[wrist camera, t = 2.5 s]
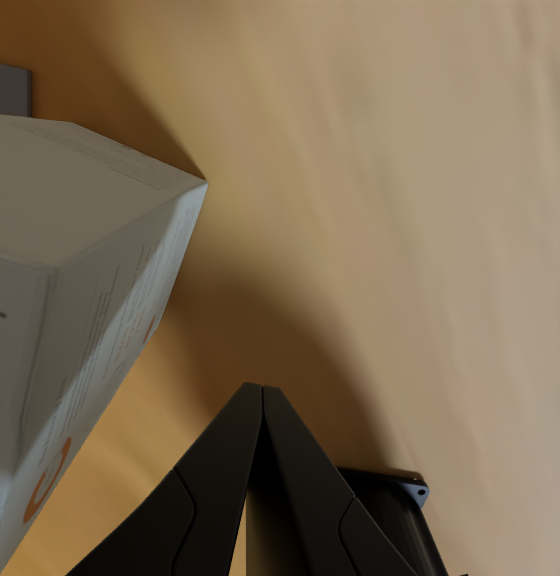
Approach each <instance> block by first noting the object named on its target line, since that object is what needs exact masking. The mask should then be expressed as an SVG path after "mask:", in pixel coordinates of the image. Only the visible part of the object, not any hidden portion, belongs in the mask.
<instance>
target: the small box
mask: <svg viewBox="0 0 560 576" xmlns="http://www.w3.org/2000/svg"><path fill="white" fill-rule="evenodd" d="M207 187H208V182H207V181H205V180H203V179H201V178H198V177H196V176H193V175H191V174H189V173H187V172H184V171H182V170H180V169H177V168H175V167H173V166H171V165H168V164H166V163H164V162H161V161H159V160H157V159H155V158H152V157H150V156H148V155H145V154H143V153H141V152H139V151H136V150H134V149H132V148H130V147H127V146H125V145H123V144H120V143H118V142H116V141H114V140H112V139H109V138H107V137H105V136H103V135H100V134H98V133H96V132H93V131H91V130H89V129H86V128H84V127H82V126H80V125H77V124H75V123H72V122H65V121H55V120H45V119H36V118H28V117H21V116H10V115H2V114H0V574H1V572H2V571H3V569H4V567H5V566H6V564H7V563H8V561H9V560H10V558H11V557H12V555H13V554H14V552H15V550H16V549H17V547H18V546H19V544H20V543H21V541H22V540H23V538H24V536H25V535H26V533H27V532H28V530H29V529H30V527H31V525H32V524H33V522H34V521H35V519H36V518H37V516H38V514H39V513H40V511H41V510H42V508H43V506H44V505H45V503H46V502H47V500H48V498H49V497H50V495H51V494H52V492H53V490H54V489H55V487H56V486H57V484H58V483H59V481H60V479H61V478H62V476H63V475H64V473H65V472H66V470H67V468H68V467H69V465H70V464H71V462H72V461H73V459H74V457H75V456H76V454H77V453H78V451H79V450H80V448H81V446H82V445H83V443H84V442H85V440H86V439H87V437H88V435H89V434H90V432H91V431H92V429H93V428H94V426H95V424H96V423H97V421H98V420H99V418H100V417H101V415H102V414H103V412H104V410H105V409H106V407H107V406H108V404H109V403H110V401H111V400H112V398H113V396H114V395H115V393H116V391H117V390H118V388H119V386H120V385H121V383H122V382H123V380H124V378H125V377H126V375H127V374H128V372H129V371H130V369H131V367H132V366H133V364H134V363H135V361H136V360H137V358H138V356H139V355H140V353H141V352H142V350H143V349H144V347H145V346H146V344H147V342H148V341H149V339H150V338H151V336H152V335H153V333H154V332H155V330H156V329H157V327H158V325H159V323H160V321H161V318H162V316H163V313H164V310H165V308H166V305H167V302H168V299H169V297H170V294H171V291H172V288H173V285H174V283H175V280H176V277H177V274H178V271H179V269H180V266H181V263H182V260H183V257H184V254H185V252H186V249H187V246H188V243H189V240H190V237H191V235H192V232H193V229H194V226H195V223H196V220H197V217H198V215H199V212H200V209H201V206H202V203H203V200H204V196H205V193H206V190H207Z"/></svg>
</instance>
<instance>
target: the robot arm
mask: <svg viewBox="0 0 560 576" xmlns="http://www.w3.org/2000/svg"><path fill="white" fill-rule="evenodd" d="M429 492H430V491H429V488H428V486H427V484H426V483H425V482H423V481H418V480H412V479H406V478H399V477H393V476H387V475H380V474H374V473H368V472H361V471H355V470H348V469H342V468H336V467H335V466H334V464H333V463H332V461H331V460H330V458H329V457H328V456H327V454H326V453H325V451H324V450H323V449H322V447H321V446H320V444H319V443H318V441H317V440H316V439H315V437H314V436H313V434H312V433H311V432H310V430H309V429H308V427H307V426H306V425H305V423H304V422H303V420H302V419H301V417H300V416H299V415H298V413H297V412H296V410H295V409H294V408H293V406H292V405H291V403H290V402H289V400H288V399H287V398H286V396H285V395H284V393H283V392H282V391H281V389H280V388H278V387H272V386H266V385H264V386H263V387H262V386H261V385H260V384H255V383H249V382H245V383H243V384H242V386H241V387H240V388H239V389H238V390H237V391H236V393H235V394H234V395H233V396H232V397H231V399H230V400H229V401H228V402H227V403H226V405H225V406H224V407H223V408H222V409H221V411H220V412H219V413H218V414H217V415H216V417H215V418H214V419H213V420H212V421H211V423H210V424H209V425H208V426H207V427H206V429H205V430H204V431H203V432H202V433H201V435H200V436H199V437H198V438H197V439H196V441H195V442H194V443H193V444H192V445H191V447H190V448H189V449H188V450H187V451H186V453H185V454H184V455H183V456H182V457H181V458H180V460H179V461H178V462H177V463H176V464H175V466H174V467H173V469H172V470H170V471H169V473H168V474H167V475H166V476H165V477H164V479H163V480H162V481H161V482H160V483H159V484H158V486H157V487H156V488H155V489H154V490H153V491H152V492H151V493H150V494H149V496H148V497H147V498H146V499H145V500H144V501H143V502H142V503H141V504H140V505H139V506H138V507H137V508H136V509H135V510H134V511H133V512H132V513H131V514H130V515H129V516H128V517H127V518H126V519H125V520H124V521H123V522H122V523H121V524H120V525H119V526H118V527H117V528H116V529H115V530H114V531H113V532H111V533H110V534H109V535H108V536H107V537H106V538H105V539H104V540H103V541H102V542H101V543H100V544H99V545H97V546H96V547H95V548H94V549H93V550H92V551H91V552H90V553H89V554H88V555H87V556H86V557H84V558H83V559H82V560H81V561H80V562H79V563H78V564H77V565H76V566H75V567H74V568H73V569H72V570H70V571H69V572H68V573H67V574H66V575H65V576H229V571H230V567H231V562H232V558H233V553H234V548H235V544H236V539H237V535H238V530H239V526H240V521H241V517H242V512H243V508H244V503H245V498H246V576H449V575H448V573H447V571H446V568H445V566H444V563H443V561H442V559H441V556H440V554H439V551H438V549H437V547H436V544H435V542H434V539H433V537H432V535H431V532H430V530H429V527H428V525H427V523H426V520H425V518H424V515H423V513H422V511H421V509H422V507H423V505H424V503H425V501H426V499H427V497H428V495H429ZM460 576H468V574H464V575H460Z"/></svg>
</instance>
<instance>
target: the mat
mask: <svg viewBox="0 0 560 576" xmlns="http://www.w3.org/2000/svg"><path fill="white" fill-rule="evenodd" d="M0 114H2V115H10V116H21V117H28V118H31V71H28V70H24V69H20V68H16V67H12V66H8V65H4V64H0Z"/></svg>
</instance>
